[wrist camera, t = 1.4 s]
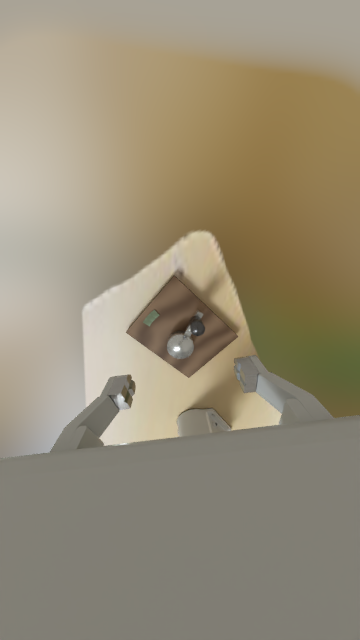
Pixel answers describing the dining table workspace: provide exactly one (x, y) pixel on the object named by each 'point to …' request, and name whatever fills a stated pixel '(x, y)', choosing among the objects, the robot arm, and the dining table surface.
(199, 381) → the dining table surface
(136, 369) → the dining table surface
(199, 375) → the dining table surface
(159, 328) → the board
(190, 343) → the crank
